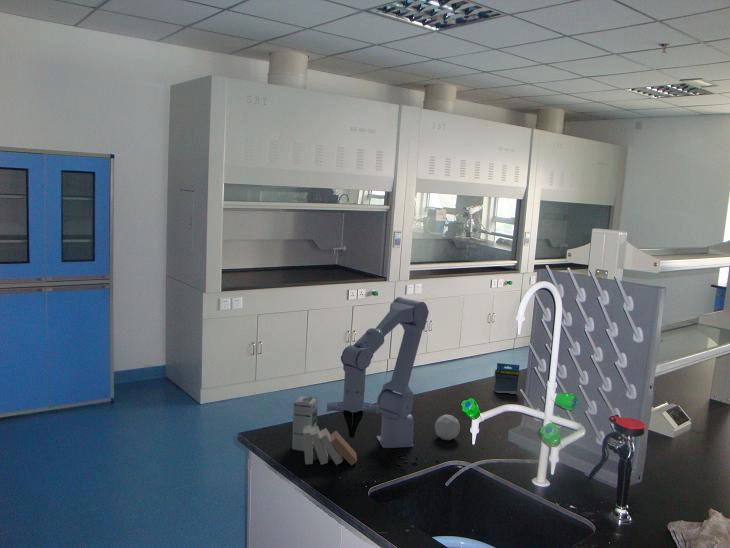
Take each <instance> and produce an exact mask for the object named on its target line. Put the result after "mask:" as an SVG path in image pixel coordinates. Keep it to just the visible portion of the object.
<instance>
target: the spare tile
mask: <svg viewBox="0 0 730 548" xmlns="http://www.w3.org/2000/svg"><path fill="white" fill-rule="evenodd" d="M330 438H331V443H332V444H333V446H334V447H335V448H336V449H337V450H338V451H339V452H340V453H341V455H342V458H344V459H345V460H346V461H347V463H348V464H350V466H353V465H354V464H356V463H357V462H358V459H357V458H358V457H357V452H356V451H355V450H354V449H353V448H352V447H351V445H350V444H349V443H348V442H347V441H346V440H345V439H344V437H343V436H342V435H340V433H339V432H338V430H334V431H333V432H332V433H331V434H330Z"/></svg>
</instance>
